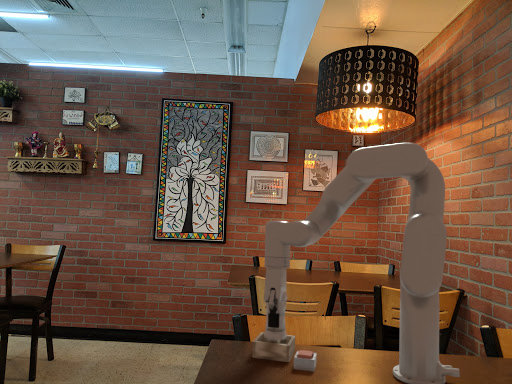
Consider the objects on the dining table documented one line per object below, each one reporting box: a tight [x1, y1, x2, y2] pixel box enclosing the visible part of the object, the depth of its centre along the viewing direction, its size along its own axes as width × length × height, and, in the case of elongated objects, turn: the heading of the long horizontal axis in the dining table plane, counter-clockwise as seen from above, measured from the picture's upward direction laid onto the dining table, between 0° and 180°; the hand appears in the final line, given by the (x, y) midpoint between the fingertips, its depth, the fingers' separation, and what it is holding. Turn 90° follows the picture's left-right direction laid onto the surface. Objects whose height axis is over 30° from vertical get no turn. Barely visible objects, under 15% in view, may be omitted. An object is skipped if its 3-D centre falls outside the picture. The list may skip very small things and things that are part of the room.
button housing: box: [293, 350, 317, 373], centre depth 109 cm, size 5×5×3 cm
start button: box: [298, 349, 314, 359], centre depth 109 cm, size 4×4×3 cm
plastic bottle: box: [264, 290, 288, 344], centre depth 118 cm, size 6×7×20 cm
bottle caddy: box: [252, 331, 296, 363], centre depth 118 cm, size 11×10×4 cm
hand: (275, 323), depth 118 cm, fingers closed on plastic bottle, 5 cm apart
